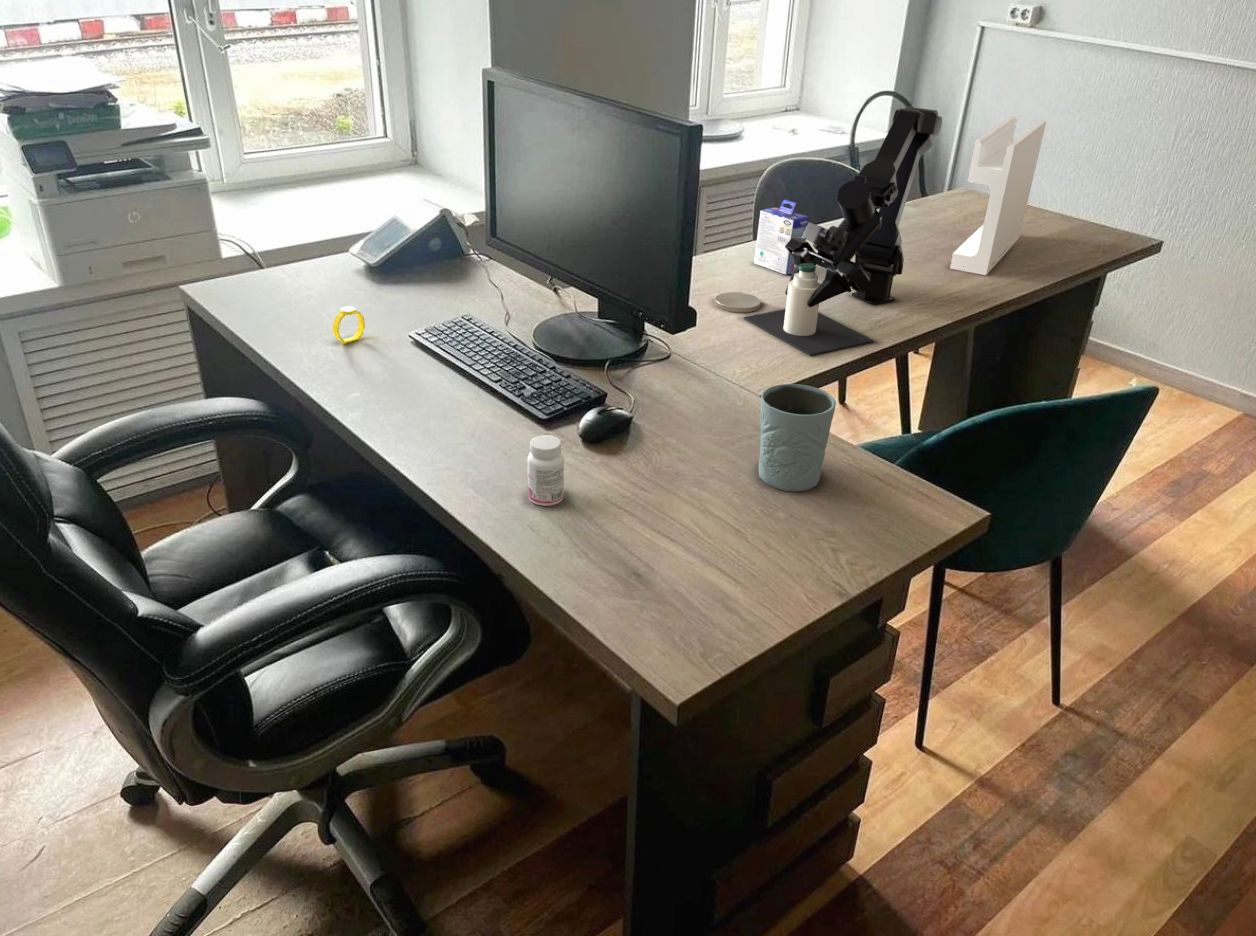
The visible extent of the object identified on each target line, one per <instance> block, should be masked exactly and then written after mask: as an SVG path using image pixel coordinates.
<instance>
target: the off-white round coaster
mask: <svg viewBox="0 0 1256 936" xmlns="http://www.w3.org/2000/svg"><path fill="white" fill-rule="evenodd" d="M714 305H715V307H717V308H718V309H720V310H722V311H727V312H732V313H751V312H755V311H758V310H759V309H760V307H761V300H760V299H759V297H757V296H756V295H753V294H750V293H746V292H740V291H739V292H738V291H730V292H722V293H719V294H717V295H716V296H715V297H714Z"/></svg>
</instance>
